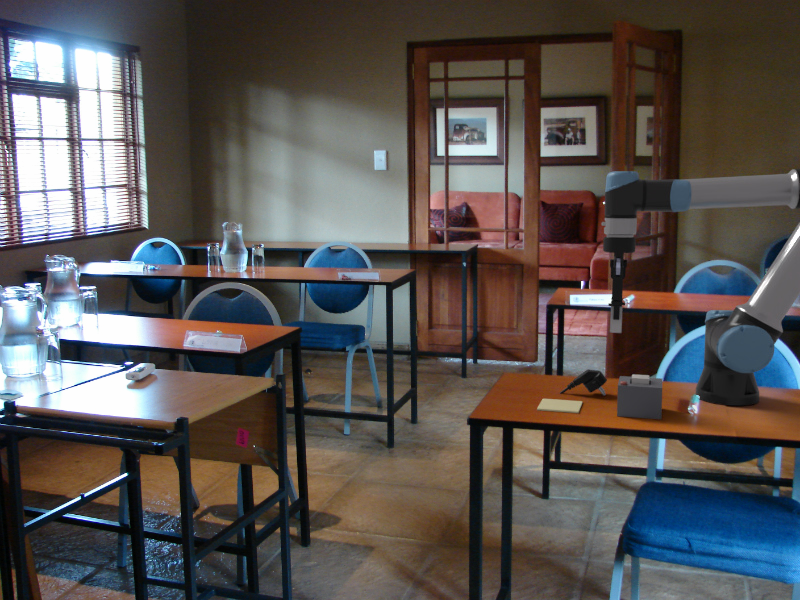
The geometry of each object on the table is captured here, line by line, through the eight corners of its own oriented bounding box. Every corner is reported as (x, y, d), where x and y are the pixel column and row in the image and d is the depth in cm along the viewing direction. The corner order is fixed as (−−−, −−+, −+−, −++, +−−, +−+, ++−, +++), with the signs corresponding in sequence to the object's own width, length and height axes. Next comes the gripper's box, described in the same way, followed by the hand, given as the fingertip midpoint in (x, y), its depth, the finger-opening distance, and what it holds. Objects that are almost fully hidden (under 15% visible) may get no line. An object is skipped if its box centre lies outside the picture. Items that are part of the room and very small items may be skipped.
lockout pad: (582, 402, 197) (582, 401, 197) (578, 413, 188) (578, 411, 188) (542, 400, 201) (542, 398, 201) (536, 410, 191) (536, 408, 191)
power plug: (558, 388, 209) (595, 362, 206) (575, 410, 208) (612, 385, 206) (558, 393, 203) (596, 367, 200) (576, 416, 203) (614, 390, 200)
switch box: (661, 408, 191) (662, 376, 190) (661, 419, 182) (662, 385, 181) (619, 405, 195) (620, 373, 194) (617, 416, 185) (617, 382, 184)
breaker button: (648, 391, 189) (649, 375, 188) (648, 395, 185) (649, 379, 185) (631, 390, 190) (632, 374, 190) (631, 394, 186) (631, 378, 186)
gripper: (604, 234, 195) (600, 327, 198) (602, 237, 183) (598, 335, 186) (635, 234, 193) (631, 328, 196) (636, 237, 181) (631, 337, 184)
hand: (615, 332), depth 191 cm, fingers closed
